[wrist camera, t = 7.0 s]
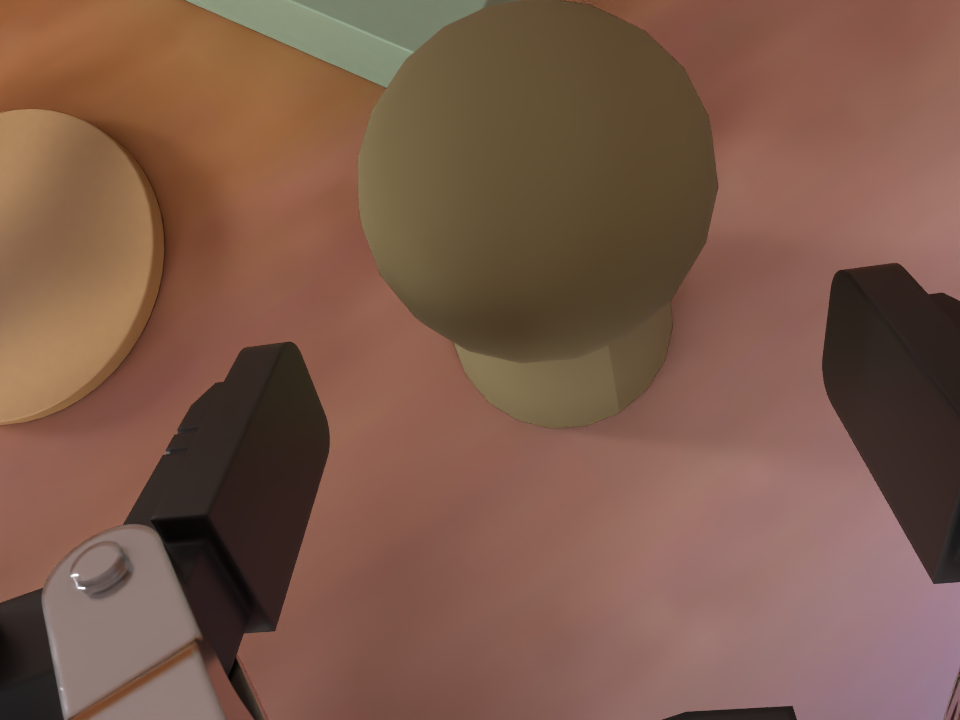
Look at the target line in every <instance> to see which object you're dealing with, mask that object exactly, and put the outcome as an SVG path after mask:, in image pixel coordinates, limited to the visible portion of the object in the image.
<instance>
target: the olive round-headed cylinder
mask: <svg viewBox="0 0 960 720" xmlns="http://www.w3.org/2000/svg"><path fill="white" fill-rule="evenodd" d="M357 164H358V193H359V214H360V218H361V223H362V228H363V230H364V233H365V236H366V238H367V241H368V244H369V246H370V249H371V252H372V254H373V257H374V260H375V262H376V265H377V267H378V270H379V273H380V275H381V277H382V278H383V279H384V280H385V282H386V283H387V284H388V285H389V286H390V288H391V289H392V290H393V291H394V292H395V294H396V295H397V296H398V297H399V299H400V300H401V301H402V302H403V303H404V305H405V306H406V307H407V308H408V309H409V311H410V312H411V313H412V314H413V315H414V317H416V318H417V319H418V320H419V321H421V322H422V323H423V324H425V325H426V326H428V327H429V328H431V329H433V330H434V331H436V332H438V333H439V334H441V335H443V336H444V337H446V338H447V339H449V340H451V341H452V342H454V346H455V348H456V351H457V353H458V356H459V358H460V361H461V363H462V366H463V369H464V371H465V374H466V376H467V377H468V378H469V380H470V381H471V382H472V383H473V384H474V386H475V387H476V388H477V389H478V390H479V392H480V393H481V394H482V395H483V397H484V398H485V399H486V400H487V401H488V402H489V403H491V404H492V405H494V406H495V407H497V408H499V409H500V410H502V411H503V412H505V413H507V414H508V415H510V416H511V417H513V418H515V419H516V420H519V421H523V422H527V423H531V424H535V425H539V426H543V427H547V428H565V427H579V426H588V425H590V424H593V423H595V422H597V421H600V420H602V419H605V418H607V417H610V416H612V415H615V414H617V413H620V412H621V411H622V410H623V409H624V408H626V407H627V406H628V405H629V404H630V403H631V402H633V401H634V400H635V399H636V398H637V397H639V396H640V395H641V394H642V393H643V392H645V391H646V390H647V388H648V387H649V385H650V384H651V382H652V380H653V379H654V377H655V375H656V374H657V372H658V370H659V369H660V367H661V366H662V364H663V362H664V361H665V358H666V354H667V349H668V345H669V340H670V336H671V332H672V327H673V322H672V312H671V302H670V301H671V299H672V297H673V296H674V294H675V293H676V291H677V289H678V288H679V286H680V284H681V283H682V281H683V280H684V278H685V276H686V275H687V273H688V271H689V270H690V268H691V267H692V265H693V263H694V262H695V260H696V258H697V257H698V255H699V254H700V252H701V250H702V248H703V246H704V245H705V243H706V239H707V235H708V230H709V226H710V222H711V217H712V213H713V208H714V204H715V199H716V195H717V190H718V181H717V172H716V164H715V156H714V148H713V139H712V132H711V126H710V121H709V116H708V114H707V112H706V110H705V108H704V106H703V104H702V102H701V100H700V98H699V96H698V94H697V92H696V90H695V88H694V86H693V84H692V82H691V80H690V78H689V76H688V74H687V73H686V71H685V69H684V67H683V66H682V65H680V64H679V63H678V62H677V61H676V60H675V59H674V58H673V57H672V56H671V55H670V54H669V53H668V52H667V51H666V50H665V49H664V48H663V47H662V46H661V45H660V44H659V43H657V42H656V41H655V40H654V39H653V38H652V37H651V36H650V35H649V34H648V33H647V32H646V31H644V30H642V29H640V28H638V27H636V26H634V25H632V24H630V23H628V22H626V21H624V20H622V19H619V18H617V17H615V16H613V15H611V14H609V13H607V12H605V11H602V10H600V9H598V8H596V7H594V6H592V5H590V4H583V3H575V2H568V1H560V0H522V1H515V2H509V3H502V4H496V5H490V6H487V7H485V8H483V9H481V10H479V11H477V12H474V13H472V14H470V15H468V16H466V17H464V18H461V19H459V20H457V21H455V22H453V23H451V24H448V25H446V26H444V27H443V28H442V29H440V30H439V31H438V32H437V33H436V34H435V35H433V36H432V37H431V38H430V39H429V40H428V41H427V42H425V43H424V44H423V45H422V46H421V47H420V48H418V49H417V50H416V51H415V52H414V53H413V54H411V55H410V56H409V57H408V58H407V59H406V60H405V61H404V63H403V64H402V65H401V67H400V68H399V70H398V71H397V73H396V74H395V76H394V77H393V79H392V81H391V82H390V84H389V85H388V87H387V88H386V90H385V91H384V93H383V94H382V96H381V97H380V99H379V101H378V102H377V104H376V105H375V107H374V108H373V110H372V112H371V115H370V119H369V122H368V126H367V129H366V133H365V136H364V140H363V143H362V146H361V150H360V153H359V157H358V160H357Z"/></svg>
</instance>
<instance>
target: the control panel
mask: <svg viewBox="0 0 960 720" xmlns="http://www.w3.org/2000/svg"><path fill="white" fill-rule="evenodd" d="M186 1H188V2H190V3H193V4H195V5H197V6H199V7H202V8H204V9H206V10H209V11H211V12H213V13H216V14H218V15H220V16H222V17H225V18H227V19H229V20H232V21H234V22H236V23H239V24H241V25H243V26H245V27H248V28H250V29H252V30H255V31H257V32H259V33H261V34H264V35H266V36H268V37H271V38H273V39H275V40H278V41H280V42H282V43H284V44H287V45H289V46H291V47H294V48H296V49H298V50H301V51H303V52H305V53H307V54H310V55H312V56H314V57H317V58H319V59H321V60H324V61H326V62H328V63H330V64H333V65H335V66H337V67H340V68H342V69H344V70H347V71H349V72H351V73H353V74H356V75H358V76H360V77H363V78H365V79H367V80H370V81H372V82H374V83H376V84H379V85H381V86H383V87H386V88H387V87H388V85H389V84H390V82H391V81H392V79H393V77H394V76H395V74H396V73H397V71H398V70H399V68H400V67H401V65H402V64H403V63H404V61H405V60H406V59H407V58H408V57H409V56H410V55H411V54H413V53H414V52H415V51H416V50H417V49H418V48H420V47H421V46H422V45H423V44H424V43H425V42H427V41H428V40H429V39H430V38H431V37H432V36H433V35H435V34H436V33H437V32H438V31H439V30H440V29H442V28H443V27H444V26H446V25H448V24H451V23H453V22H455V21H457V20H459V19H461V18H464V17H466V16H468V15H470V14H472V13H474V12H477V11H479V10H481V9H483V8H485V7H487V6H490V5H496V4H502V3H509V2H515V1H522V0H186Z"/></svg>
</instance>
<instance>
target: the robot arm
mask: <svg viewBox="0 0 960 720" xmlns="http://www.w3.org/2000/svg"><path fill="white" fill-rule="evenodd" d="M822 371H823V379H824V385H825V389H826V392H827V395H828V398H829V400H830V402H831V404H832V406H833V407H834V409H835V411H836V413H837V414H838V416H839V418H840V420H841V422H842V423H843V425H844V427H845V429H846V430H847V432H848V434H849V436H850V437H851V439H852V441H853V443H854V444H855V446H856V448H857V450H858V451H859V453H860V455H861V457H862V459H863V460H864V462H865V464H866V466H867V467H868V469H869V471H870V473H871V474H872V476H873V478H874V480H875V481H876V483H877V485H878V487H879V488H880V490H881V492H882V494H883V495H884V497H885V499H886V501H887V503H888V504H889V506H890V508H891V510H892V511H893V513H894V515H895V517H896V518H897V520H898V522H899V524H900V525H901V527H902V529H903V531H904V532H905V534H906V536H907V538H908V539H909V541H910V543H911V545H912V547H913V548H914V550H915V552H916V554H917V555H918V557H919V559H920V561H921V562H922V564H923V566H924V568H925V569H926V571H927V573H928V575H929V576H930V578H931V580H932V582H933V584H940V583H953V582H960V301H958V300H956V299H954V298H952V297H950V296H948V295H946V294H944V293H936V294H928V293H927V292H926V291H925V290H924V289H923V288H922V287H921V286H920V285H919V284H918V283H917V282H916V280H915V279H914V278H913V277H912V276H911V275H910V274H909V273H908V272H907V271H906V270H905V269H904V267H902V266H901V265H900V264H898V263H891V264H883V265H875V266H868V267H860V268H853V269H845V270H839V271H838V272H836V274H835V275H834V278H833V281H832V285H831V292H830V300H829V308H828V317H827V325H826V333H825V342H824V350H823V359H822ZM329 445H330V436H329V427H328V422H327V418H326V415H325V413H324V410H323V407H322V405H321V402H320V400H319V397H318V395H317V392H316V390H315V387H314V385H313V382H312V380H311V377H310V375H309V372H308V370H307V367H306V365H305V362H304V360H303V357H302V355H301V352H300V350H299V349H298V347H297V346H296V345H295V344H294V343H292V342H283V343H276V344H268V345H261V346H253V347H246V348H243V349H242V350H241V351H240V353H239V355H238V356H237V358H236V360H235V362H234V364H233V366H232V368H231V369H230V371H229V373H228V375H227V377H226V379H225V381H224V382H218V383H215V384H214V385H213V386H212V387H211V388H210V389H208V390H207V391H206V392H205V393H204V394H203V395H202V396H201V397H200V398H199V399H198V400H197V401H196V402H194V403H193V404H192V405H191V407H190V409H189V410H188V412H187V414H186V416H185V417H184V419H183V421H182V423H181V424H180V426H179V428H178V434H176V435H174V437H173V438H172V440H171V442H170V444H169V445H168V447H167V449H166V455H163V456H162V457H161V459H160V461H159V463H158V464H157V466H156V468H155V470H154V471H153V473H152V475H151V477H150V478H149V480H148V482H147V484H146V485H145V487H144V489H143V491H142V492H141V494H140V496H139V498H138V499H137V501H136V503H135V505H134V506H133V508H132V510H131V512H130V513H129V515H128V517H127V519H126V520H125V522H124V524H123V525H121V526H117V527H113V528H110V529H108V530H105V531H102V532H100V533H98V534H96V535H94V536H92V537H90V538H89V539H87V540H85V541H84V542H82V543H81V544H79V545H78V546H77V547H75V548H74V549H73V550H72V551H70V552H69V553H68V554H67V555H66V556H65V557H64V558H63V559H62V560H61V561H60V562H59V563H58V564H57V565H56V567H55V568H54V569H53V571H52V572H51V574H50V575H49V577H48V579H47V580H46V583H45V585H44V588H41V589H39V590H36V591H33V592H30V593H27V594H24V595H22V596H19V597H16V598H13V599H10V600H7V601H5V602H2V603H0V720H269V719H268V717H267V715H266V712H265V710H264V708H263V706H262V704H261V702H260V699H259V697H258V695H257V693H256V691H255V689H254V687H253V684H252V682H251V680H250V678H249V676H248V674H247V671H246V669H245V667H244V665H243V663H242V662H241V660H240V658H239V657H238V655H237V652H238V649H239V646H240V643H241V640H242V637H243V634H244V633H256V632H269V631H275V630H276V626H277V623H278V620H279V616H280V613H281V610H282V606H283V603H284V600H285V597H286V593H287V590H288V587H289V583H290V580H291V577H292V573H293V570H294V567H295V563H296V560H297V557H298V553H299V550H300V547H301V544H302V540H303V537H304V534H305V530H306V527H307V524H308V520H309V517H310V514H311V510H312V507H313V504H314V500H315V497H316V494H317V490H318V487H319V484H320V481H321V477H322V474H323V471H324V467H325V464H326V461H327V457H328V453H329ZM663 720H797V718H796V715H795V712H794V709H793V706H784V707H766V708H748V709H729V710H711V711H693V712H684V713H681V714H678V715H675V716H672V717H669V718H666V719H663ZM943 720H960V667H959V670H958V674H957V677H956V680H955V683H954V686H953V689H952V693H951V696H950V699H949V702H948V705H947V708H946V712H945V715H944V718H943Z"/></svg>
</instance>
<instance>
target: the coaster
mask: <svg viewBox="0 0 960 720" xmlns="http://www.w3.org/2000/svg"><path fill="white" fill-rule="evenodd" d="M163 262H164V231H163V225H162V218H161V213H160V209H159V206H158V203H157V199H156V196H155V193H154V191H153V189H152V187H151V185H150V183H149V180H148V178H147V176H146V175H145V173H144V172H143V170H142V169H141V167H140V166H139V164H138V163H137V161H136V160H135V159H134V158H133V157H132V156H131V155H130V153H129V152H128V151H127V150H126V149H125V148H124V147H123V146H121V145H120V144H119V143H118V142H117V141H115V140H114V139H113V138H112V137H110V136H109V135H108V134H106V133H105V132H103V131H102V130H100V129H98V128H97V127H95V126H93V125H92V124H90V123H88V122H87V121H84V120H82V119H79V118H77V117H74V116H72V115H69V114H65V113H61V112H57V111H52V110H41V109H20V110H11V111H6V112H0V424H1V425H6V424H15V423H23V422H28V421H31V420H35V419H39V418H43V417H46V416H48V415H50V414H53V413H55V412H58V411H60V410H62V409H65V408H66V407H68V406H70V405H72V404H73V403H75V402H77V401H78V400H80V399H82V398H83V397H85V396H86V395H87V394H89V393H90V392H91V391H93V390H94V389H95V388H97V387H98V386H99V385H100V384H101V383H102V382H103V381H104V380H105V379H107V378H108V377H109V376H110V375H111V374H112V373H113V372H114V371H115V370H116V369H117V367H118V366H119V365H120V364H121V362H122V361H123V360H124V359H125V358H126V356H127V355H128V354H129V352H130V351H131V349H132V348H133V346H134V345H135V343H136V342H137V340H138V338H139V337H140V335H141V333H142V331H143V329H144V327H145V325H146V323H147V321H148V319H149V317H150V315H151V312H152V309H153V307H154V304H155V301H156V298H157V295H158V291H159V286H160V282H161V278H162V272H163Z"/></svg>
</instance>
